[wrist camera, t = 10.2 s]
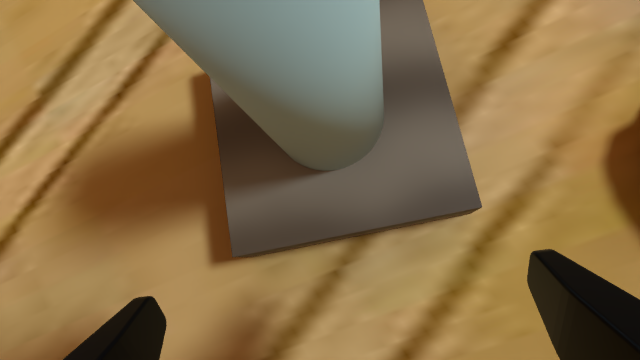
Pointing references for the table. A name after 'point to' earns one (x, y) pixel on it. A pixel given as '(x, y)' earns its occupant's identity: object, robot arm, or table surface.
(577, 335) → the robot arm
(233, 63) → the sage wooden pillar
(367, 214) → the grey square slab
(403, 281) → the table surface
